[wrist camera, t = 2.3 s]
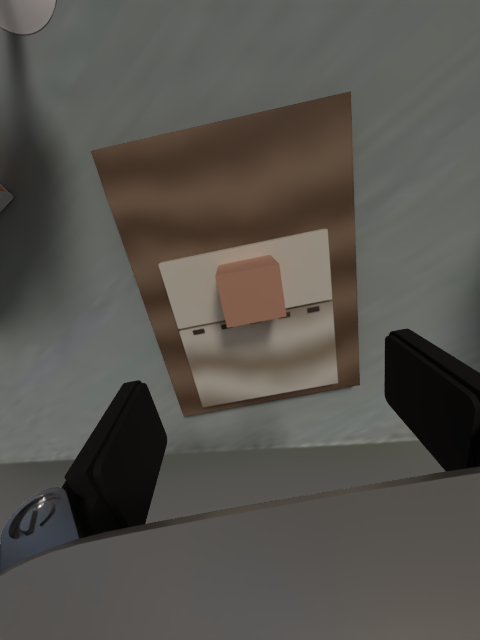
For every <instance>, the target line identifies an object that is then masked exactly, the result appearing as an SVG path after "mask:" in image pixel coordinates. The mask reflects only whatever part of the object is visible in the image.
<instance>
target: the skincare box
mask: <svg viewBox="0 0 480 640" xmlns="http://www.w3.org/2000/svg"><path fill="white" fill-rule="evenodd" d="M13 198H14V197H13V195H12V194H11V193H10V192H8V191H7V190H6V189H5V188H4V187H3V186H2V185H1V184H0V212H1V211H2V210H3V209H4V208H5V207H6V206H7V205H8V204H9V202H10V201H11V200H12V199H13Z"/></svg>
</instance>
